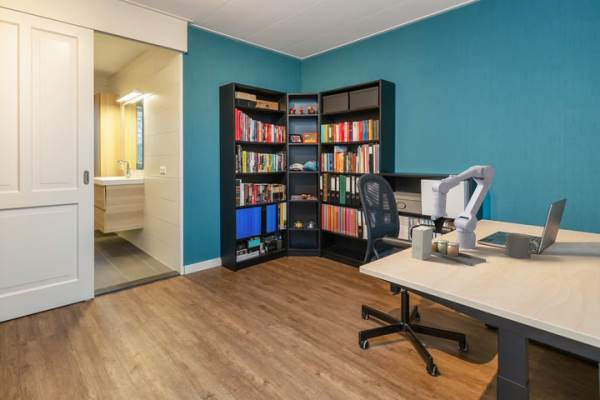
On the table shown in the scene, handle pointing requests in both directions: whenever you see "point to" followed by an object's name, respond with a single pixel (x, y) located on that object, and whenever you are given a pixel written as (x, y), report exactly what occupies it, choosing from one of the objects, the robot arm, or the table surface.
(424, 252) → the skincare box
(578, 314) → the table surface
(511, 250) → the coffee mug
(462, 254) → the grey rectangular tray
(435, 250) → the pusher
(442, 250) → the jar
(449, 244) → the jar
